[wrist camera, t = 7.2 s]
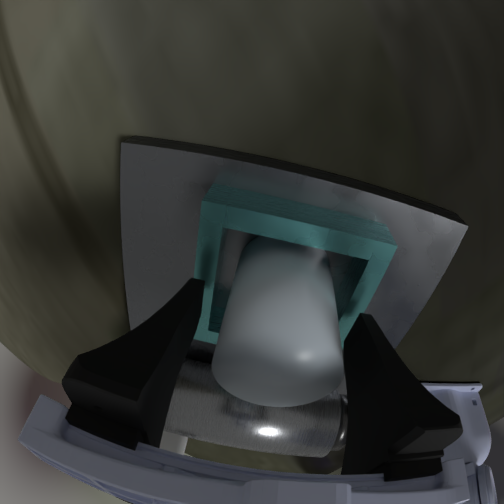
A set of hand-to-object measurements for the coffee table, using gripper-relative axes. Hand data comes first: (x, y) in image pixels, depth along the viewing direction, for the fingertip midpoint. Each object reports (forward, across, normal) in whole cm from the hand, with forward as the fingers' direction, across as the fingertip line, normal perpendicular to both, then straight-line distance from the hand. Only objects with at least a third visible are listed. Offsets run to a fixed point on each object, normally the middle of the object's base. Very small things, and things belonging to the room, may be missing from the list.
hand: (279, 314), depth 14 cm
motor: (+4, 0, +4) cm, 6 cm away
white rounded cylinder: (+3, 0, 0) cm, 3 cm away
